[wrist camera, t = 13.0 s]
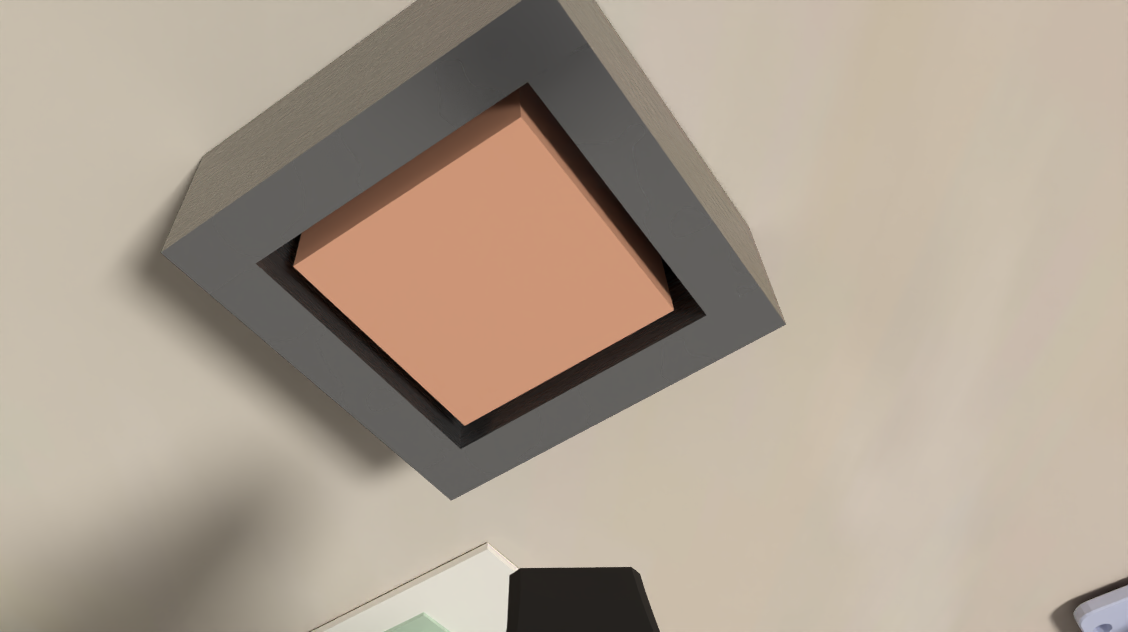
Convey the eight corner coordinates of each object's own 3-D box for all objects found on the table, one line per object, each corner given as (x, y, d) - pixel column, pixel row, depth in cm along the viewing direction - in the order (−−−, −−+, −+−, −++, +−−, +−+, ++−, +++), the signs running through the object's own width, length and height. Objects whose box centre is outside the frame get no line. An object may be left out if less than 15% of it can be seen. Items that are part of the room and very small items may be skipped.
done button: (657, 242, 18) (673, 310, 17) (466, 354, 20) (464, 426, 18) (516, 58, 16) (520, 116, 14) (310, 199, 17) (293, 266, 16)
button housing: (749, 227, 19) (785, 324, 17) (454, 394, 22) (451, 500, 19) (535, -86, 16) (545, -17, 13) (202, 156, 18) (160, 252, 15)
